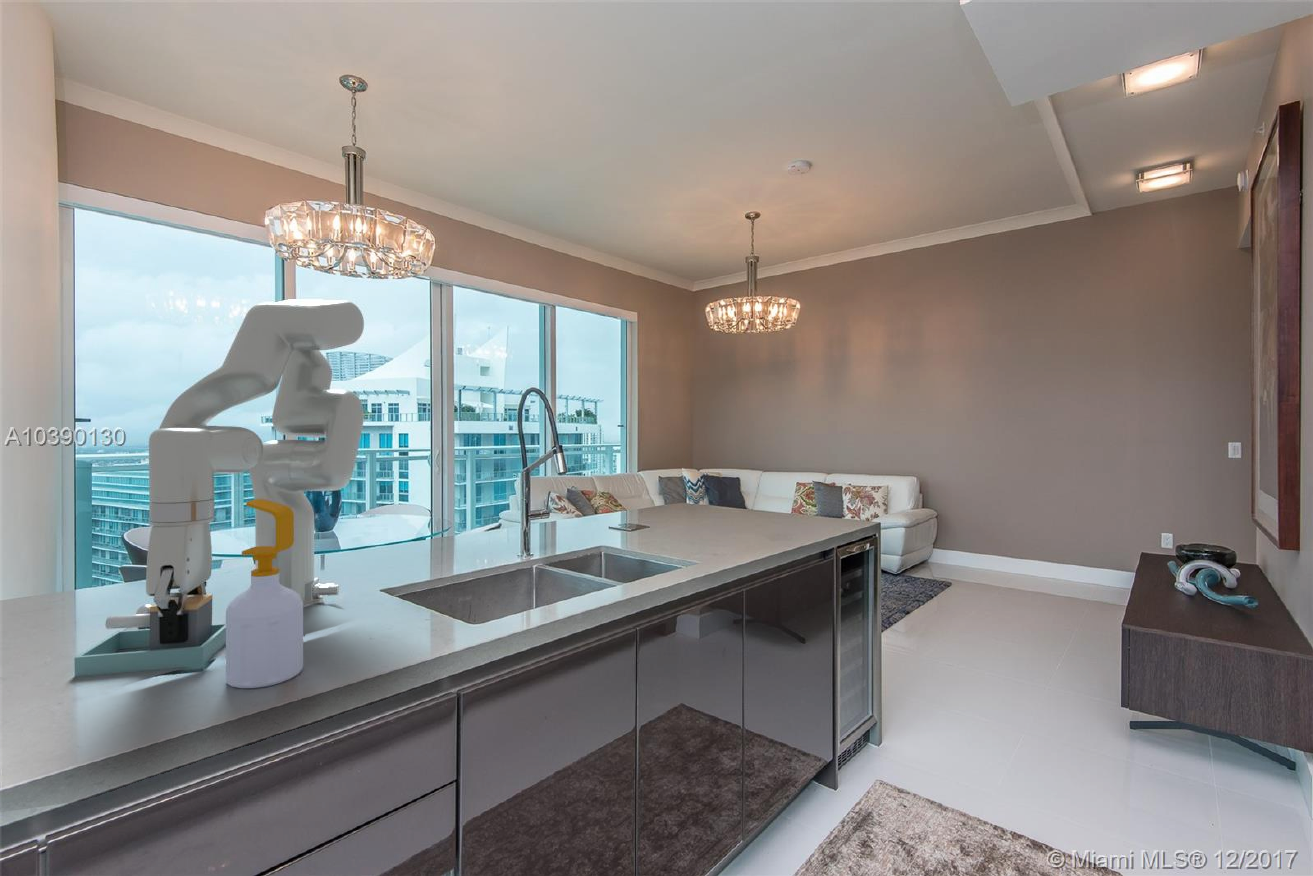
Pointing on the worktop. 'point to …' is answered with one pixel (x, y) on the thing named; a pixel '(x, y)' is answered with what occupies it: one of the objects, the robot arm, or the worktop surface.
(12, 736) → the worktop surface
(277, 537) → the soap bottle
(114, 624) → the grey block with cylinder
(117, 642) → the bin
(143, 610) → the grey piece
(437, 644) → the worktop surface
